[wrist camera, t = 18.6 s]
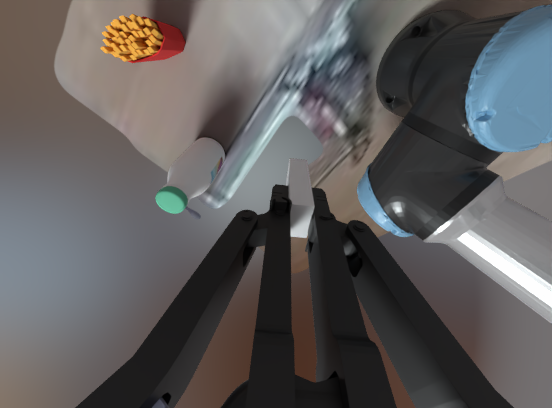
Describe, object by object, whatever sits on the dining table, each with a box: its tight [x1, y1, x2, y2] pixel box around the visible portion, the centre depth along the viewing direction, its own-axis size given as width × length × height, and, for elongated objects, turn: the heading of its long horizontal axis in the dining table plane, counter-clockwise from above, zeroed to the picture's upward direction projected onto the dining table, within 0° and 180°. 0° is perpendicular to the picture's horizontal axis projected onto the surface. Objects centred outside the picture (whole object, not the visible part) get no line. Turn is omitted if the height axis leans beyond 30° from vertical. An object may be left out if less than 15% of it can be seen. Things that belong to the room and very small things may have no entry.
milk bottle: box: [156, 137, 225, 213], centre depth 40 cm, size 8×8×20 cm
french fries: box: [100, 14, 186, 63], centre depth 31 cm, size 8×4×12 cm, turn 108°
